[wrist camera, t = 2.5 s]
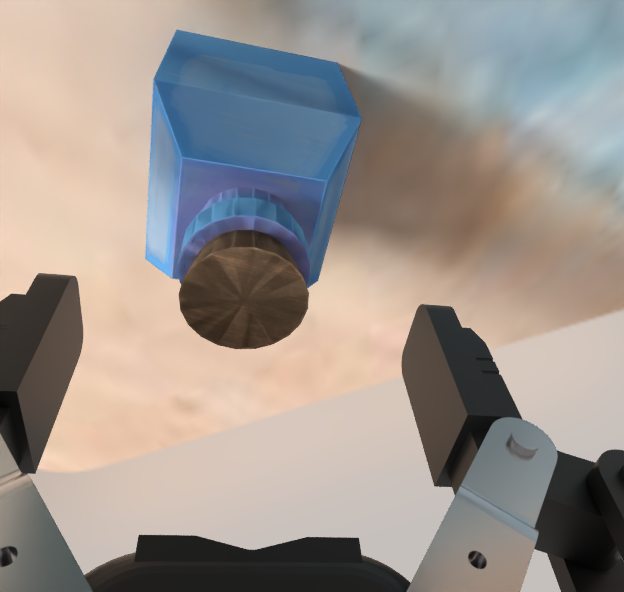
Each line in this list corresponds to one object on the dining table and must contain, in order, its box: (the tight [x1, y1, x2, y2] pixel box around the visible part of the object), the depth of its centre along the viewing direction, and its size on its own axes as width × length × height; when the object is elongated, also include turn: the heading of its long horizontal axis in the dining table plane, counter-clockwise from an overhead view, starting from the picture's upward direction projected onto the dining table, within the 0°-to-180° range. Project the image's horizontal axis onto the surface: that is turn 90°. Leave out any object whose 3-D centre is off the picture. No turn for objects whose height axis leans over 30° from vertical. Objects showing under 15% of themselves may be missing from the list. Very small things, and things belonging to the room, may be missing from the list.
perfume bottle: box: [145, 30, 362, 349], centre depth 18 cm, size 6×6×12 cm
